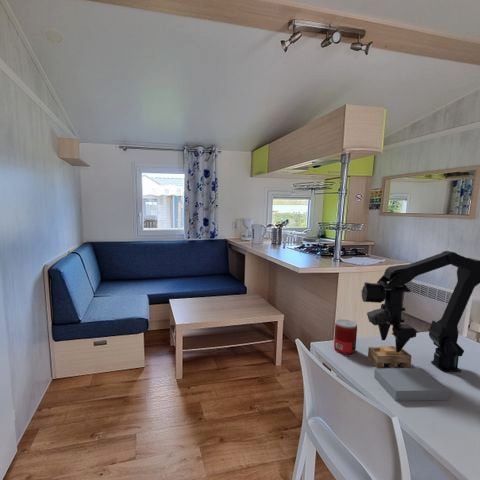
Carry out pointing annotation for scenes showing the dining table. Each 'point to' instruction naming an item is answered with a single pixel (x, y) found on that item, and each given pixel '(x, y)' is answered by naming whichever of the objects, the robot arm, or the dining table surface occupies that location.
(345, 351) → the canned food
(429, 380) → the dock
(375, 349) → the shallow cardboard tray
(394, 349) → the block
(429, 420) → the dining table surface
